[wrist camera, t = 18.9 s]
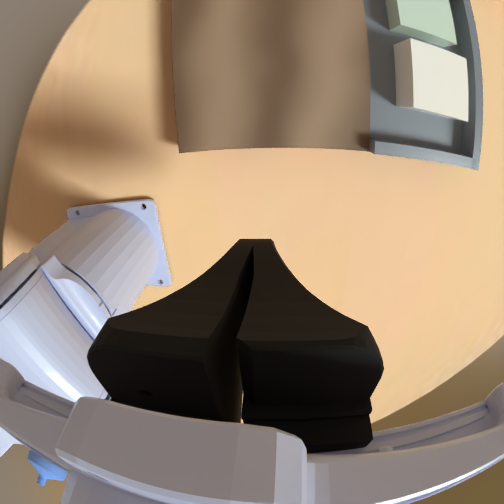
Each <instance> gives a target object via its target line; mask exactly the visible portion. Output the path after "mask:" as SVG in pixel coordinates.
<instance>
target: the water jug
mask: <svg viewBox="0 0 504 504" xmlns="http://www.w3.org/2000/svg"><path fill="white" fill-rule="evenodd" d="M28 460H29V461H30V463H31V464H32V465H33V466H34V468H35V469H36V470H37V472H38V473H39V477H38V481H37V483H39V484H40V485H42V486H44V485H45V483H46V480H47V479H53V480H61V481H64V480H65V478H66V476H67V472H66V471H64V470H63V469H61V468H59V467H57V466H56V465H54V464H52V463H51V462H49V461H47V460H46V459H44V458H43V457H41V456H39V455H38V454H36V453H35V452H33V451H32V450H30V452H29V455H28Z"/></svg>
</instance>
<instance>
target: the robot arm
mask: <svg viewBox="0 0 504 504" xmlns="http://www.w3.org/2000/svg"><path fill="white" fill-rule="evenodd" d="M142 204H145V205H146V208H144V207H143V206H142ZM78 211H79V212H80V214H79V213H78ZM67 217H68V221H67V222H65V223H64V224H63V225H61V226H60V227H59V228H57V229H56V230H55V231H53V232H52V233H51V234H50V235H48V236H47V237H46V238H45V239H43V240H42V241H41V242H40V243H38V244H37V245H36V246H35V247H34V248H32V250H31V251H30V252H29V253H22V254H21V255H19V256H18V257H17V258H16V259H14V260H13V261H12V262H11V263H10V264H8V265H7V266H6V267H5V268H4V269H3V270H2V271H0V457H1V456H2V455H3V454H4V453H5V452H6V451H7V450H8V449H9V448H10V447H11V445H12V444H23V445H25V446H26V447H27V448H29V449H30V450H32V451H33V452H35V453H36V454H38V455H39V456H41V457H43V458H44V459H46V460H47V461H49V462H51V463H52V464H54V465H56V466H57V467H59V468H61V469H63V470H64V471H66V472H68V473H70V474H69V477H68V480H67V483H66V486H65V489H64V492H63V496H62V499H61V502H60V504H410V503H413V502H415V501H418V500H421V499H424V498H426V497H429V496H432V495H434V494H437V493H439V492H441V491H443V490H446V489H448V488H450V487H453V486H455V485H457V484H459V483H461V482H463V481H465V480H467V479H469V478H471V477H473V476H475V475H477V474H478V473H480V472H482V471H484V470H485V469H487V468H489V467H491V466H492V465H494V464H496V463H497V462H499V461H500V460H502V459H503V458H504V382H503V383H501V384H500V385H498V386H497V387H496V388H495V389H494V390H492V392H491V393H490V394H489V395H488V396H487V398H486V399H485V400H483V401H481V402H479V403H476V404H474V405H471V406H468V407H466V408H463V409H460V410H457V411H454V412H451V413H449V414H445V415H442V416H439V417H436V418H433V419H429V420H425V421H422V422H418V423H414V424H410V425H406V426H401V427H397V428H392V429H387V430H382V431H377V432H372V428H371V422H370V417H369V414H370V413H371V412H372V406H371V401H370V397H371V395H372V393H373V392H374V390H375V388H376V386H377V384H378V382H379V381H380V379H381V376H382V373H383V370H384V366H383V360H382V357H381V354H380V351H379V348H378V346H377V344H376V342H375V339H374V337H373V336H372V334H371V332H370V330H369V328H368V326H366V325H364V324H362V323H359V322H357V321H355V320H353V319H351V318H349V317H347V316H345V315H343V314H341V313H339V312H338V311H336V310H334V309H333V308H331V307H329V306H328V305H326V304H325V303H323V302H322V301H321V300H319V299H318V298H317V297H315V296H314V295H313V294H311V293H310V292H309V291H308V290H307V289H306V288H305V287H304V286H303V285H302V284H301V283H300V282H299V281H298V280H297V279H296V278H295V276H294V275H293V274H292V273H291V271H290V270H289V269H288V268H287V266H286V265H285V263H284V262H283V260H282V259H281V257H280V255H279V254H278V252H277V250H276V248H275V245H274V242H273V241H272V240H271V239H239V240H238V241H237V242H236V243H235V244H234V245H233V246H232V248H231V249H230V250H229V251H228V252H227V253H226V254H225V255H224V256H223V257H222V258H221V259H220V260H219V261H218V262H216V263H215V264H214V265H213V266H212V267H211V268H209V269H208V270H207V271H206V272H205V273H203V274H202V275H201V276H199V277H198V278H197V279H195V280H194V281H192V282H191V283H189V284H188V285H186V286H185V287H183V288H181V289H179V290H178V291H176V292H174V293H172V294H170V295H168V296H167V297H165V298H163V299H160V300H158V301H156V302H154V303H151V304H149V305H147V306H144V307H142V308H139V309H136V310H133V311H131V309H132V308H133V306H134V304H135V303H136V301H137V299H138V297H139V296H140V294H141V292H142V291H143V289H144V288H145V286H170V285H171V283H172V278H171V274H170V270H169V265H168V261H167V256H166V252H165V247H164V242H163V237H162V232H161V227H160V222H159V217H158V211H157V206H156V202H155V201H154V200H152V199H142V200H131V201H120V202H111V203H102V204H93V205H85V206H77V207H71V208H69V209H68V210H67ZM160 280H162V281H163V282H161V281H160ZM242 394H244V395H243V404H242ZM241 409H242V413H241ZM241 418H242V419H243V422H244V424H243V423H241Z"/></svg>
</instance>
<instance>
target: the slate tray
mask: <svg viewBox="0 0 504 504" xmlns="http://www.w3.org/2000/svg"><path fill="white" fill-rule="evenodd" d="M449 3H450V8H451V12H452V17H453V23H454V28H455V35H456V41H457V45H452V46H447V47H441V46H439V45H436V44H433V43H430V42H427V41H424V40H421V39H418V38H415V37H411V36H408V35H404V34H401V33H397V32H393V31H390V30H389V22H388V15H387V8H386V2H385V0H363V5H364V12H365V20H366V29H367V39H368V52H369V68H370V144H369V152H371V153H373V154H379V155H389V156H398V157H406V158H413V159H420V160H427V161H433V162H439V163H445V164H450V165H455V166H460V167H465V168H470V169H474V170H478V169H479V161H480V152H481V141H482V125H483V85H482V69H481V59H480V50H479V43H478V37H477V31H476V26H475V21H474V16H473V12H472V7H471V3H470V0H449ZM409 38H412V39H415V40H418V41H421V42H424V43H427V44H430V45H433V46H436V47H439V48H442V49H444V50H447V51H449V52H452V53H454V54H457V55H459V56H461V57H464V58H466V61H467V73H468V122H466V121H461V120H456V119H450V118H446V117H442V116H438V115H434V114H430V113H426V112H421V111H417V110H412V109H407V108H402V107H397V106H396V77H395V58H394V46H393V45H395V44H397V43H399V42H402V41H404V40H407V39H409Z"/></svg>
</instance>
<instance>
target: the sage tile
mask: <svg viewBox="0 0 504 504" xmlns="http://www.w3.org/2000/svg"><path fill="white" fill-rule="evenodd" d="M385 2H386V8H387V15H388V22H389V30H390V31H393V32H397V33H401V34H404V35H408V36H411V37H415V38H418V39H421V40H424V41H427V42H430V43H433V44H436V45H439V46H441V47H447V46H452V45H457V41H456V35H455V28H454V23H453V17H452V12H451V8H450V3H449V0H385Z"/></svg>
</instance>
